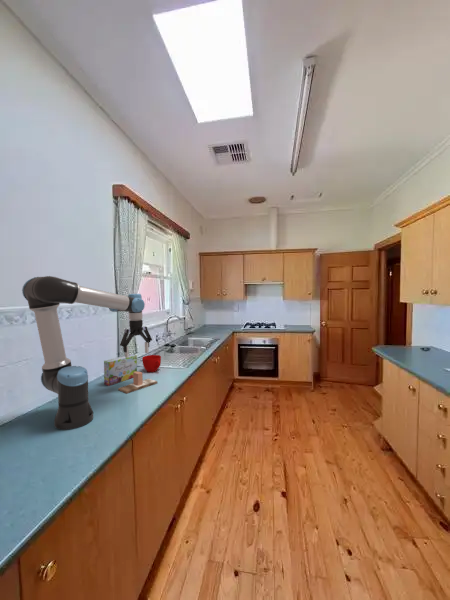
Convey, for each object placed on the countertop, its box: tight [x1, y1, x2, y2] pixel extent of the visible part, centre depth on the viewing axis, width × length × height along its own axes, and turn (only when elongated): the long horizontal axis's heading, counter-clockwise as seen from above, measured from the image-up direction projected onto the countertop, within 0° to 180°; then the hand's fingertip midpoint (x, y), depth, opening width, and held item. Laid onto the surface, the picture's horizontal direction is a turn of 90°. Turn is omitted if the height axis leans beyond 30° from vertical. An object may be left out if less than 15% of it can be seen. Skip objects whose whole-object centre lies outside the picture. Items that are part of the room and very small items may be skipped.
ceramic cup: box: [141, 354, 162, 373], centre depth 193 cm, size 13×17×10 cm
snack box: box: [103, 353, 138, 387], centre depth 174 cm, size 21×6×15 cm, turn 148°
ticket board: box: [117, 378, 158, 395], centre depth 163 cm, size 21×9×2 cm, turn 141°
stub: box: [128, 370, 147, 388], centre depth 163 cm, size 6×8×7 cm
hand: (137, 355), depth 162 cm, fingers open, 13 cm apart
